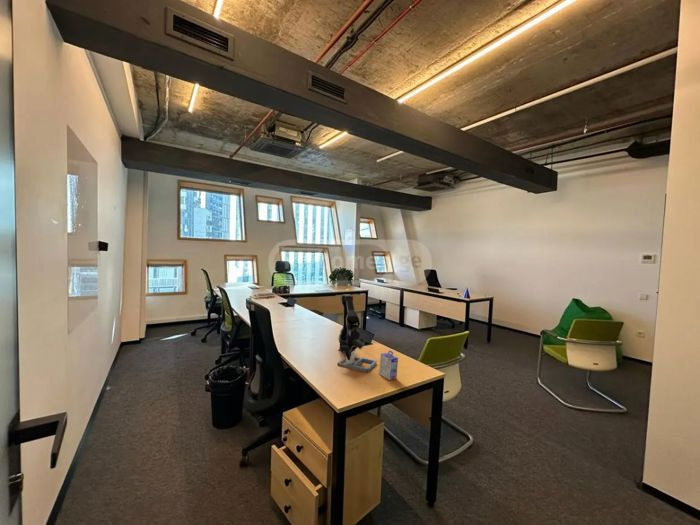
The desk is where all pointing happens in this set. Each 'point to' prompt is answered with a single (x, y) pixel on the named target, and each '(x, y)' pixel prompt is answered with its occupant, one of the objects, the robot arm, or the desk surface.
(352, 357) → the cord plug
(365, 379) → the desk surface
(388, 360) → the ink cartridge box
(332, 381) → the desk surface
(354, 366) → the frame
